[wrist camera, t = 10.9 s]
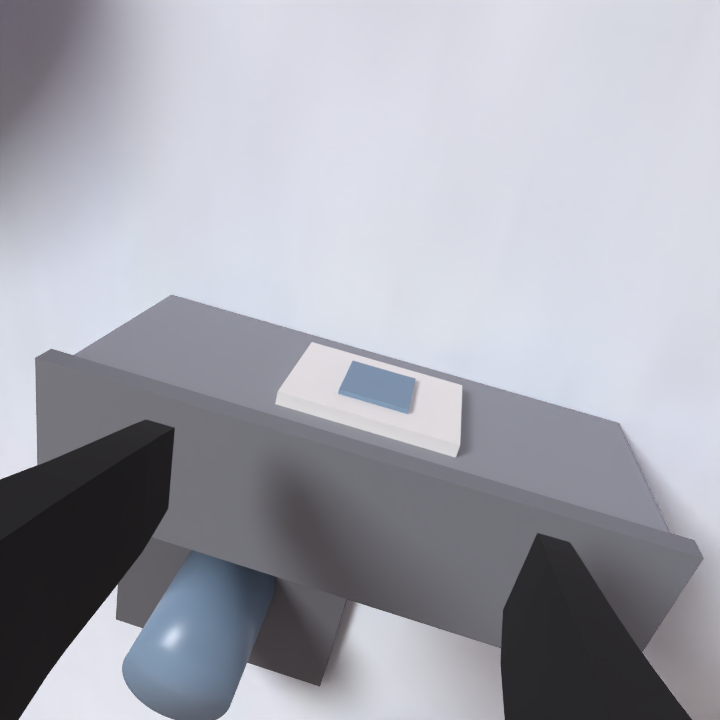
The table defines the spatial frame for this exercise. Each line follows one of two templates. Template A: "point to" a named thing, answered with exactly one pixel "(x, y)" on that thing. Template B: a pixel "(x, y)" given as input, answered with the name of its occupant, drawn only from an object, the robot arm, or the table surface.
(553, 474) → the block
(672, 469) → the table surface
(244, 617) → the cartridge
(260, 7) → the table surface
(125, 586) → the mat
